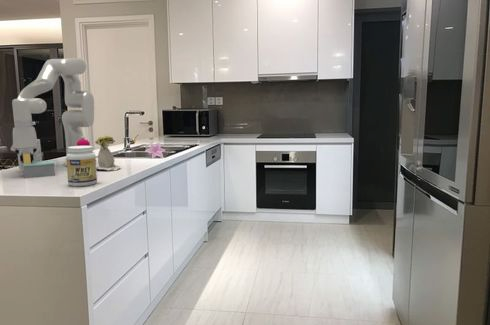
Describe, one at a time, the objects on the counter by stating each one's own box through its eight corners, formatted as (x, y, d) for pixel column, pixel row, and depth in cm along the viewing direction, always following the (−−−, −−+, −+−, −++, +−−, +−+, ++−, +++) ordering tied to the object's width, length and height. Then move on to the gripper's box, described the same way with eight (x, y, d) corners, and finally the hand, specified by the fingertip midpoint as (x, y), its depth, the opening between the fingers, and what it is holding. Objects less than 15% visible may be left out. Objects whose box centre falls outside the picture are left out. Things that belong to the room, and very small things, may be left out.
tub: (54, 173, 205) (53, 162, 204) (55, 176, 197) (54, 164, 196) (25, 176, 199) (24, 164, 198) (25, 179, 191) (23, 167, 190)
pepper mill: (77, 175, 200) (74, 135, 197) (92, 174, 203) (90, 135, 200) (77, 178, 194) (74, 137, 190) (93, 176, 196) (90, 136, 193)
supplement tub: (68, 188, 172) (65, 148, 170) (68, 182, 183) (65, 145, 181) (98, 185, 177) (95, 147, 174) (96, 180, 188) (94, 144, 185)
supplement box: (43, 169, 218) (40, 139, 215) (39, 172, 209) (36, 140, 206) (24, 170, 215) (21, 139, 213) (18, 173, 206) (15, 141, 204)
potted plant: (108, 172, 209) (105, 137, 206) (90, 170, 215) (88, 136, 212) (124, 168, 219) (122, 135, 216) (107, 167, 225) (105, 134, 222)
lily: (142, 159, 258) (144, 147, 252) (148, 150, 267) (150, 138, 262) (160, 165, 258) (163, 153, 253) (165, 155, 268) (168, 144, 263)
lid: (54, 163, 205) (53, 150, 203) (55, 166, 196) (53, 152, 195) (24, 165, 198) (23, 152, 197) (24, 168, 190) (22, 154, 189)
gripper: (42, 123, 199) (45, 160, 202) (4, 124, 191) (8, 162, 194) (42, 124, 192) (46, 162, 195) (3, 126, 185) (7, 165, 188)
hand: (27, 162), depth 195 cm, fingers closed on lid, 3 cm apart
